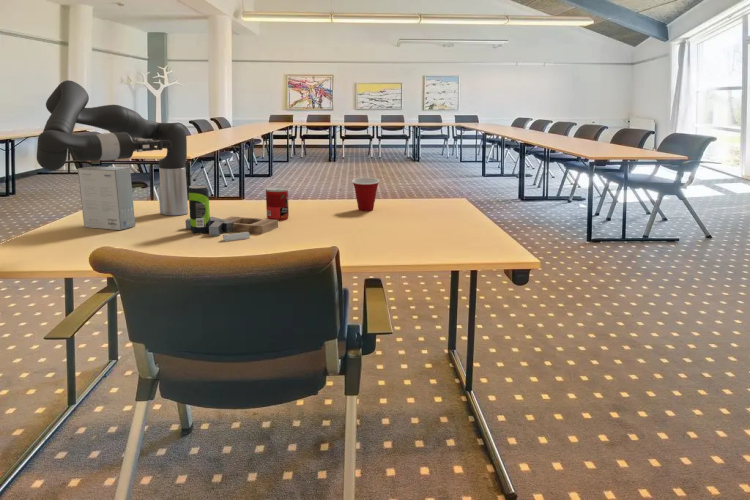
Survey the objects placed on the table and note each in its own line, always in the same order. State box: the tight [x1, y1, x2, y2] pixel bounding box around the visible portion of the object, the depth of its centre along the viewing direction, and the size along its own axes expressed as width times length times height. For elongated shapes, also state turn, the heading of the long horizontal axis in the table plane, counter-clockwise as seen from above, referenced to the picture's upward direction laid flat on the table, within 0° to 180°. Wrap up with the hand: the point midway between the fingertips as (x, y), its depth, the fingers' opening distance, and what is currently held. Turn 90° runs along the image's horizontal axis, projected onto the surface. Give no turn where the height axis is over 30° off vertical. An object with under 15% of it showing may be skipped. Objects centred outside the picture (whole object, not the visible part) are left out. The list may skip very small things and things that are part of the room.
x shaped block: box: [185, 216, 234, 237], centre depth 208 cm, size 10×18×3 cm, turn 46°
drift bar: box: [222, 232, 251, 242], centre depth 196 cm, size 8×2×2 cm, turn 125°
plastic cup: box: [351, 177, 381, 212], centre depth 246 cm, size 11×11×12 cm
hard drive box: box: [77, 166, 136, 231], centre depth 210 cm, size 16×8×20 cm, turn 71°
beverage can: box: [187, 184, 211, 234], centre depth 204 cm, size 6×6×15 cm
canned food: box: [265, 186, 290, 222], centre depth 227 cm, size 8×8×11 cm
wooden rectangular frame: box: [223, 215, 279, 235], centre depth 211 cm, size 18×11×2 cm, turn 72°
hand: (164, 143), depth 191 cm, fingers open, 8 cm apart
